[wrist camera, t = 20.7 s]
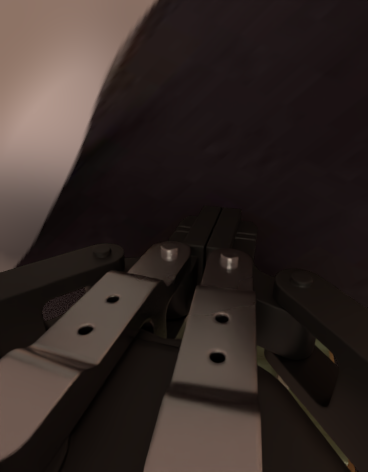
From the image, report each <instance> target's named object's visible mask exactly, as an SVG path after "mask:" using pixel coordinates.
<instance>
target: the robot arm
mask: <svg viewBox="0 0 368 472" xmlns="http://www.w3.org/2000/svg"><path fill="white" fill-rule="evenodd" d="M257 229H258V228H257V227H256V226H255V224H254V223H253V222H246V221H241V209H234V208H224V207H223V209H222V207H213V206H204V207H203V208H202V210H201V212H200V213H199V215H198V216H189V217H187V218H185V219H183V220H182V221H181V222H180V224H179V225H178V227H177V228H176V230H175V231H174V233H173V234H172V236H171V237H170V238H169V240H168V241H165V242H160V243H157V244H154V245H153V246H151V247H150V248H149V249H148V250H147V252H146V253H145V254H144V255H143V256H142V257H137V258H124V250H123V248H122V247H121V246H119V245H116V244H111V243H102V244H96V245H92V246H89V247H85V248H82V249H79V250H75V251H72V252H68V253H65V254H62V255H58V256H55V257H51V258H48V259H45V260H41V261H38V262H34V263H31V264H28V265H24V266H21V267H18V268H14V269H11V270H8V271H4V272H1V273H0V472H351V471H350V470H349V468H348V467H347V466H346V464H345V463H344V462H343V461H342V459H341V458H340V457H339V455H338V454H337V453H336V451H335V450H334V449H333V448H332V446H331V445H330V444H329V442H328V441H327V440H326V438H325V437H324V436H323V435H322V433H321V432H320V431H319V429H318V428H317V427H316V426H315V424H314V423H313V422H312V420H311V419H310V418H309V416H308V415H307V414H306V413H305V411H304V410H303V409H302V407H301V406H300V405H299V403H298V402H297V401H296V400H295V398H294V397H293V396H292V394H291V393H290V392H289V391H288V389H287V388H286V387H285V386H284V385H283V384H282V383H281V382H280V381H279V380H278V379H277V378H275V377H274V376H273V375H272V374H271V373H269V372H268V371H266V370H265V369H263V368H262V367H260V366H259V365H257V346H260V347H262V348H264V356H265V358H266V360H267V362H268V363H269V364H270V365H271V367H272V368H273V369H274V370H275V371H276V373H277V374H278V375H279V376H280V377H281V379H282V380H283V381H284V382H285V383H286V385H287V386H288V387H289V388H290V389H291V391H292V392H293V393H294V394H295V395H296V397H297V398H298V399H299V400H300V401H301V403H302V404H303V405H304V406H305V407H306V409H307V410H308V411H309V412H310V413H311V415H312V416H313V417H314V418H315V420H316V421H317V422H318V423H319V424H320V426H321V427H322V428H323V429H324V430H325V432H326V433H327V434H328V435H329V436H330V438H331V439H332V440H333V441H334V442H335V444H336V445H337V446H338V447H339V448H340V450H341V451H342V452H343V453H344V454H345V456H346V457H347V458H348V459H349V460H350V462H351V463H352V464H353V465H354V466H355V468H356V469H357V470H358V471H359V472H368V309H367V308H365V307H364V306H362V305H361V304H359V303H358V302H356V301H355V300H354V299H352V298H351V297H349V296H348V295H346V294H345V293H343V292H342V291H341V290H339V289H338V288H336V287H335V286H333V285H332V284H330V283H329V282H327V281H326V280H325V279H323V278H322V277H320V276H319V275H317V274H315V273H312V272H310V271H306V270H302V269H286V270H282V271H280V272H279V273H278V274H277V275H276V277H272V276H269V275H267V274H265V273H263V272H261V271H260V270H258V269H257V268H256V267H255V265H254V255H255V246H256V238H257ZM83 287H85V291H86V294H85V295H84V296H83V297H81V298H80V299H79V300H78V301H77V302H76V303H75V304H74V305H73V306H72V307H71V308H70V309H69V310H68V311H67V312H66V313H65V314H63V315H61V316H58V317H56V318H53V319H51V320H48V321H44V319H43V315H42V309H43V306H44V305H45V304H46V303H47V302H48V301H49V300H51V299H53V298H56V297H59V296H61V295H64V294H67V293H70V292H72V291H75V290H78V289H81V288H83ZM182 336H183V338H182ZM181 338H182V339H181ZM316 339H317V340H318V341H320V342H321V343H322V344H323V345H324V346H325V347H326V348H327V349H328V350H329V351H330V352H331V353H332V354H333V355H334V357H335V359H336V361H337V363H338V366H339V367H338V366H337V365H336V364H335V363H334V362H333V361H332V360H331V359H330V358H329V357H327V356H326V355H325V354H324V353H323V352H322V351H321V350H320V349H319V348H318V347H317V346H316V345H315V341H316Z"/></svg>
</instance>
